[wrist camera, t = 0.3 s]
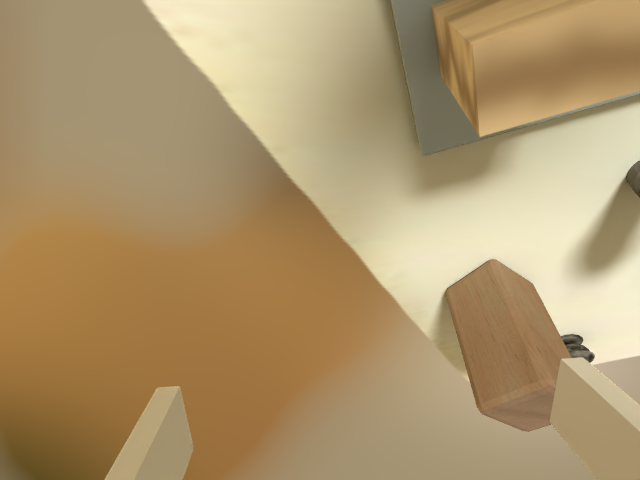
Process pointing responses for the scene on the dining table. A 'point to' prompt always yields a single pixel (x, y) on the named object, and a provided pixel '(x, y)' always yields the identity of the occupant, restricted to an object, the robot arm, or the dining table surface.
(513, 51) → the oak block
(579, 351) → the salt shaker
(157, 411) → the robot arm
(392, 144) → the dining table surface
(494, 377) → the block
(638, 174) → the beverage cup
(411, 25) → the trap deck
